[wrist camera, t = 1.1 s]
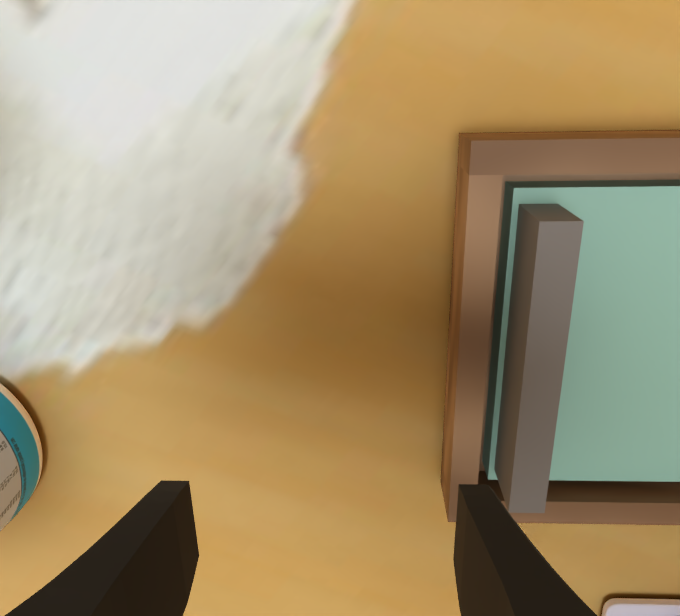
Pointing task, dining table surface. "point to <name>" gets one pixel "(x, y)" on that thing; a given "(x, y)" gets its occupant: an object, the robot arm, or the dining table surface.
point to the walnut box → (480, 294)
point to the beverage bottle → (17, 456)
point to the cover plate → (585, 337)
